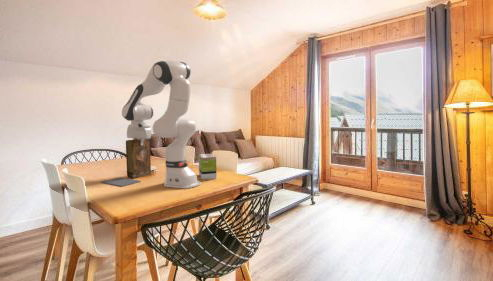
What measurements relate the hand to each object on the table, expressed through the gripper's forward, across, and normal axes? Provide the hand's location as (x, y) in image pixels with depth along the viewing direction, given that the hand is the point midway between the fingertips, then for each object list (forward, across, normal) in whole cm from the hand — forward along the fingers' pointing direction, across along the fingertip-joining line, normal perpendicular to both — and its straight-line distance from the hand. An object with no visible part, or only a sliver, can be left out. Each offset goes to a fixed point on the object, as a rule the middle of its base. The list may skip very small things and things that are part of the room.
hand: (138, 145), depth 174 cm
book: (+21, 0, 0) cm, 21 cm away
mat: (+21, +4, -18) cm, 28 cm away
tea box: (+21, +42, +20) cm, 51 cm away
